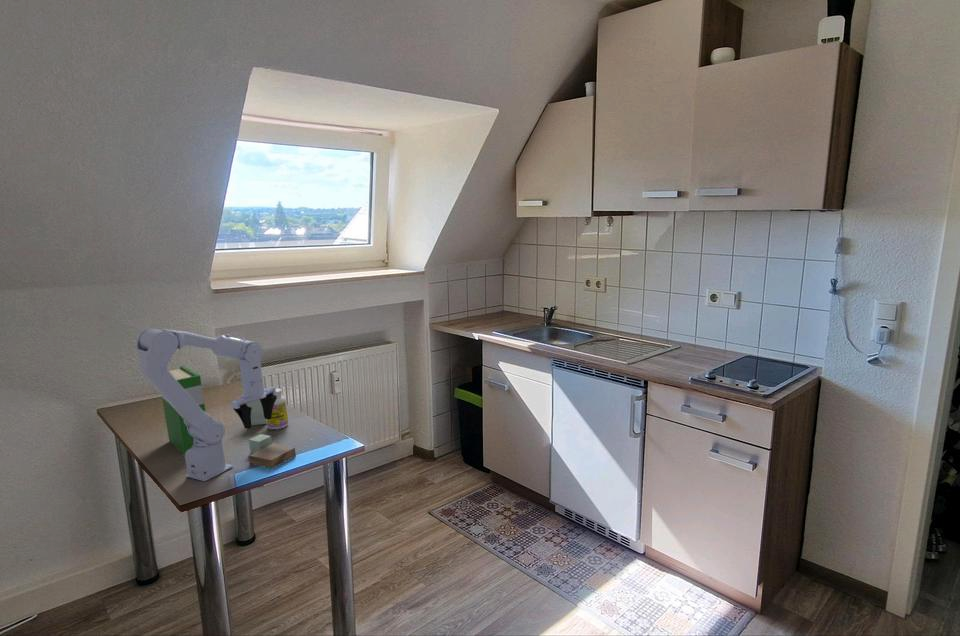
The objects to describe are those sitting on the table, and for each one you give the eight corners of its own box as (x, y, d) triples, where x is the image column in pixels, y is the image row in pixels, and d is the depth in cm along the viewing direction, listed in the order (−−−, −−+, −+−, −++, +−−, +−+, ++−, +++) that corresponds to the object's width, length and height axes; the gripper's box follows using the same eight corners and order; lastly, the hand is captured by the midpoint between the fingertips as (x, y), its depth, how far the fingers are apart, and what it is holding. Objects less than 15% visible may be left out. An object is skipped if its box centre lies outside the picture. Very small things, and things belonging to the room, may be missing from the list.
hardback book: (169, 441, 180) (157, 370, 175) (193, 434, 185) (182, 365, 180) (185, 457, 167) (173, 381, 162) (211, 449, 172) (200, 375, 167)
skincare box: (270, 420, 195) (266, 387, 192) (266, 424, 190) (262, 391, 188) (252, 421, 194) (248, 388, 192) (248, 426, 190) (243, 392, 188)
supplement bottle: (266, 431, 184) (262, 394, 182) (268, 424, 191) (264, 388, 188) (287, 428, 186) (283, 392, 184) (289, 421, 192) (284, 386, 190)
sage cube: (261, 455, 166) (259, 441, 165) (250, 453, 168) (248, 439, 167) (272, 449, 169) (271, 436, 169) (262, 447, 171) (260, 434, 171)
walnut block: (272, 470, 156) (271, 460, 156) (250, 465, 160) (248, 455, 160) (296, 457, 164) (294, 447, 164) (274, 452, 168) (272, 443, 168)
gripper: (241, 389, 156) (248, 434, 159) (280, 374, 169) (286, 416, 171) (224, 386, 159) (231, 430, 162) (264, 372, 172) (269, 413, 174)
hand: (258, 423), depth 167 cm, fingers open, 7 cm apart
